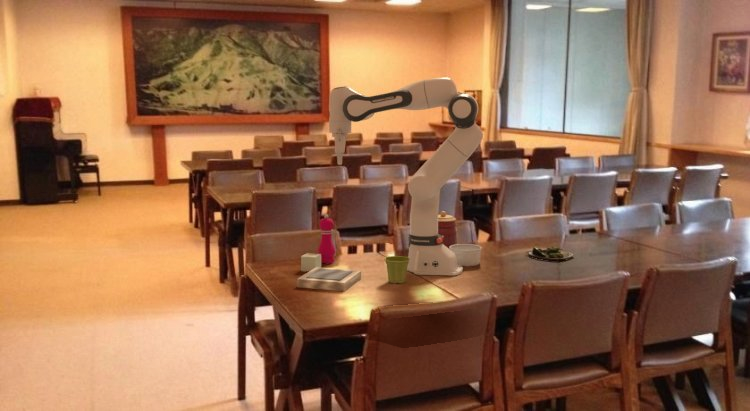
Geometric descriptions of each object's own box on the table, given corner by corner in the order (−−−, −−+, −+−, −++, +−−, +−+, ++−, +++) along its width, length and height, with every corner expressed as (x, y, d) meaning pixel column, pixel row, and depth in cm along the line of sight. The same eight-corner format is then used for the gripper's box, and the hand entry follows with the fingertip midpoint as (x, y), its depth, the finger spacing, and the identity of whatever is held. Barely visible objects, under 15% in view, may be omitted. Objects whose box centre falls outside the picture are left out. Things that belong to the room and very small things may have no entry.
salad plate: (545, 250, 303) (545, 240, 303) (581, 256, 291) (582, 246, 290) (520, 257, 290) (521, 246, 290) (557, 264, 277) (558, 253, 277)
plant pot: (394, 277, 256) (394, 254, 254) (414, 281, 250) (415, 258, 248) (379, 282, 248) (379, 259, 247) (399, 286, 243) (399, 262, 241)
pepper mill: (336, 260, 283) (336, 213, 280) (334, 264, 276) (333, 215, 273) (319, 259, 283) (319, 212, 280) (316, 263, 276) (315, 215, 273)
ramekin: (444, 265, 275) (444, 248, 274) (455, 258, 286) (456, 242, 285) (475, 268, 269) (475, 251, 268) (485, 261, 280) (486, 245, 279)
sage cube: (321, 268, 269) (321, 254, 268) (315, 272, 263) (315, 257, 262) (307, 267, 270) (307, 253, 270) (301, 271, 265) (301, 256, 264)
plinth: (361, 278, 253) (360, 270, 253) (344, 291, 236) (344, 282, 236) (316, 274, 259) (316, 266, 258) (297, 287, 242) (297, 278, 241)
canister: (422, 248, 305) (423, 210, 303) (447, 246, 311) (448, 208, 308) (437, 254, 294) (438, 214, 291) (462, 251, 299) (463, 212, 296)
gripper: (348, 129, 256) (347, 166, 258) (348, 127, 276) (347, 161, 278) (331, 129, 256) (331, 165, 258) (332, 127, 276) (332, 161, 278)
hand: (339, 163), depth 268 cm, fingers open, 8 cm apart
